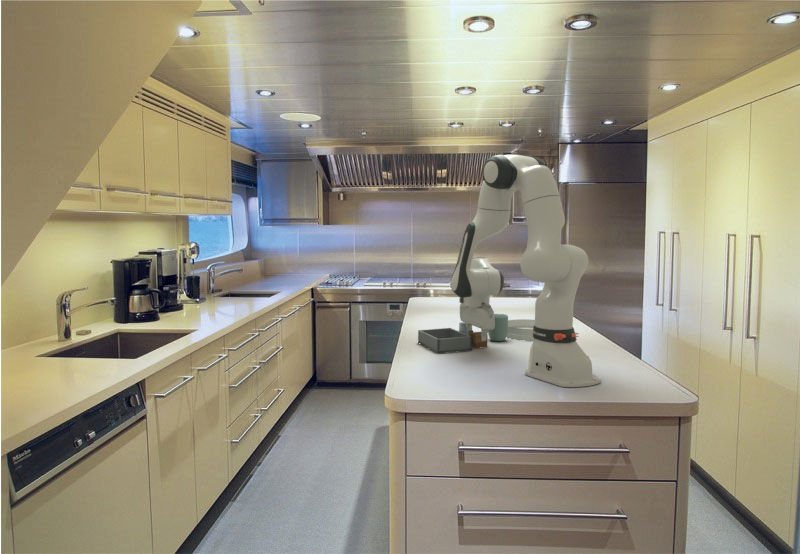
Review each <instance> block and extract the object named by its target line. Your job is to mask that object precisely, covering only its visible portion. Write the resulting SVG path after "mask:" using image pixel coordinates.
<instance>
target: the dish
mask: <svg viewBox="0 0 800 554" xmlns="http://www.w3.org/2000/svg"><path fill="white" fill-rule="evenodd" d="M534 325H535V319H522V318H521V319H510V320H509V319H508V333H507V338H506V339H509V338H511V339H510V340H513V339H516V341H520V340H525V341H524V342H534V337H533V326H534Z"/></svg>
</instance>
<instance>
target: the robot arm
mask: <svg viewBox="0 0 800 554" xmlns="http://www.w3.org/2000/svg"><path fill="white" fill-rule="evenodd" d="M482 177H483V178H482V179H483V181H482V182H481V183H482V184H481V187H480V191H479V195H478V200H477V201H478V202H477V210H476V214H475V216H474V218H473V220H472V221H471V222H470V223H468V224H467V225H466V228H465V230H464V234H463V237H462V241H461V246H460V248H459V253H458V256H457V261H456V265H455V268H454V271H453V272H452V277H451V280H450V287H451V290H452V292H453V293H454V294H455V295H456V296H457V297H459V298H458V299H459V302H458V303H460V305H459V318H460V321H461V322H465V323H466V328H467V334H468V335H469V333H471V332H474V330H473V327H476V328H478V329H481V330H480V332H482V334H481V335H480V340H482V341H486V336H487V334H488V330H494V328H495V317H494V314H495V311H494V309H493V308H492V305H491V304H490V296H496V295H499V294H500V293H501V292H502V291H503V289H504V286H505V278H504V274H503V272H501V271H500V270H499V269H496V268H495V267H494V266H493V265H492V264H491V262H490V259H489V258H487V257H481V256H480V257H474V253H475V250H476V247H477V246H478V245H479V244H480V243H481V242H482V241H484V240H486V239H489V238H491V237H494V236H496V235H497V234H499V233H501V232H502V231H504V230H505V229H506V228H507V226H508V225H509V223H510V222H509V221H510V220H511V219H510V218H511V209H512V197H513V195H514V194H515V192H517V191H519V193H520V195H521V200H522V206H523V209H524V215H525V219H526V225H527V244H526V249H525V250H524V252H523V254H522V256H521V258H520V263H519V264H520V269H521V270H520V271H521V273H522V274H523V276H524V277H525V278H526V279H527V280H529V281H532V282H537V283H544V284H543V287H542V290H541V293H540V294H539V295H538V296H537V298H536V299H535V304H534V320H535V325H534V326H533V337H534V341H532V345H531V346H530V350H529V356H528V357H529V358H528V367H527V369H526V370H525V371H524V375H525V376H528V377H530V378H535V379H537V380H541V381H544V382H546V383H549V384H553V385H556V386H557V387H558V386H559V387H562V388H579V387H589V386H594V385H595V386H596V385H598V384H601V382H602V379H601V378H600V377H599V376H597V375H595V374H593V364H592V363H593V362H592V360H591V359H590V356H589V355H587V354H586V353H585V351H584V349H583V348H581V346H580V345H579V344H578V342H577V338H578V337H579V332H575V328H574V327H573V326H574V325H573V324H574V305H575V299H576V298H575V297H576V294H577V292H578V287H579V284H580V280H581V279H582V277H583V275H584V273H585V272H586V270H588V267H589V257H588V254H587V253H586V251H585V250H584V249H583V248H581V247H579V246H577V245H573V244H568V243H567V244H562V243H561V242H562V241H561V234H562V228H563V227H564V226H565V223H566V218H565V214H564V208H563V204H562V200H561V196H560V195H561V194H560V191H559V188H558V184H557V182H556V179H555V177H554V175H553V173H552V171H551V169H550V168H549V167H548V166H546V164H545V162H544V161H543V160H542V159H540V158H538V157H535V156H531V155H529V156H527V155H526V156H525V155H520V154H497V155H496V154H495V155H492V156H490V157H489V158H488V159H486V161H485V162H484V164H483V167H482Z"/></svg>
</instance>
